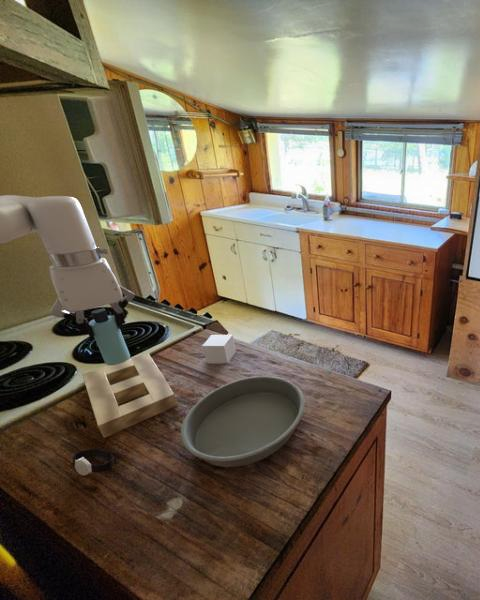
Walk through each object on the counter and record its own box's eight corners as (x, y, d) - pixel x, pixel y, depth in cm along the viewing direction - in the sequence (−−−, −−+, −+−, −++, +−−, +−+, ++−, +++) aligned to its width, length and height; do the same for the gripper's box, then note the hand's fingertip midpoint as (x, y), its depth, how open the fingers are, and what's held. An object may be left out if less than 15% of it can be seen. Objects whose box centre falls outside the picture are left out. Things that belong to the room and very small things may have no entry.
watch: (66, 471, 61) (59, 458, 60) (93, 451, 66) (86, 438, 64) (99, 481, 60) (92, 467, 58) (124, 459, 64) (118, 446, 63)
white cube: (206, 363, 93) (201, 345, 91) (215, 351, 98) (211, 334, 96) (227, 363, 93) (223, 345, 91) (236, 351, 99) (232, 334, 96)
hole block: (103, 438, 69) (97, 425, 67) (87, 385, 83) (82, 374, 81) (178, 405, 78) (174, 394, 76) (151, 363, 92) (148, 352, 91)
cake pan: (162, 482, 60) (155, 466, 58) (211, 393, 82) (207, 378, 80) (298, 468, 64) (296, 452, 62) (310, 386, 86) (309, 372, 84)
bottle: (107, 367, 77) (85, 318, 71) (103, 359, 80) (82, 310, 74) (132, 359, 80) (113, 311, 74) (128, 351, 83) (109, 304, 77)
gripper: (122, 246, 77) (145, 314, 85) (17, 261, 65) (55, 338, 73) (129, 253, 72) (153, 324, 80) (17, 271, 61) (58, 352, 69)
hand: (106, 330), depth 76 cm, fingers closed on bottle, 4 cm apart
